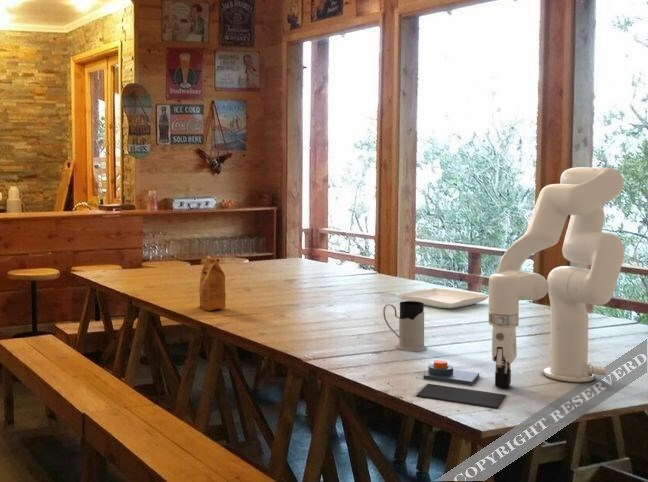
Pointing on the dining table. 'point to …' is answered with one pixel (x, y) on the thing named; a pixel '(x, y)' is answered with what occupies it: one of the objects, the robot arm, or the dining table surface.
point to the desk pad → (461, 395)
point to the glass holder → (410, 325)
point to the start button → (440, 364)
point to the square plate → (443, 298)
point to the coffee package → (212, 285)
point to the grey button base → (451, 375)
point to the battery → (508, 377)
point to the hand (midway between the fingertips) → (502, 384)
